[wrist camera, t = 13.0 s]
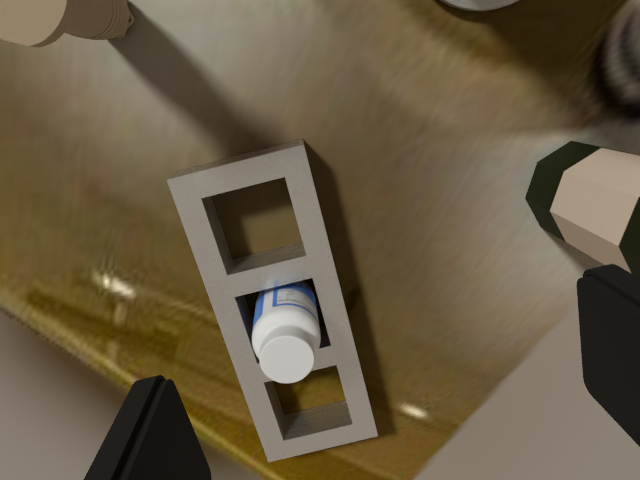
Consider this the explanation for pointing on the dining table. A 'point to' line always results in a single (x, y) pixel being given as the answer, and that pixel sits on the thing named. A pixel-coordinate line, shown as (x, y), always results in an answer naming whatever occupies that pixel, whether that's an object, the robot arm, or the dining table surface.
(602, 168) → the wine bottle
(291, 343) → the pill bottle
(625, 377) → the robot arm
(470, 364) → the dining table surface
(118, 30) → the handle
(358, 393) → the hollow concrete block
